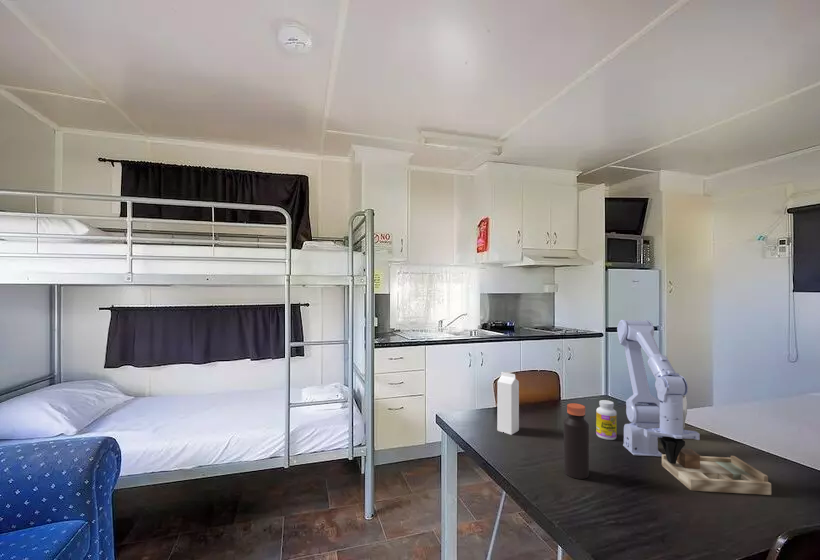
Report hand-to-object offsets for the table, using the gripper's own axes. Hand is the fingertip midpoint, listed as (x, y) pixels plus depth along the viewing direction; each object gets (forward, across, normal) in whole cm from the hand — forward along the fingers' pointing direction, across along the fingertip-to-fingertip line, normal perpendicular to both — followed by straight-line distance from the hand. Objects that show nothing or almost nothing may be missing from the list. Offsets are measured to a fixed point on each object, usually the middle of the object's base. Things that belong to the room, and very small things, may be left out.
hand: (671, 462), depth 112 cm
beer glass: (+3, +18, +30) cm, 35 cm away
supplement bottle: (+3, -8, +26) cm, 27 cm away
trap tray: (+3, +10, -2) cm, 11 cm away
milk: (+3, -43, +27) cm, 51 cm away
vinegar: (+3, -28, -4) cm, 29 cm away
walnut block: (+1, +5, 0) cm, 5 cm away
